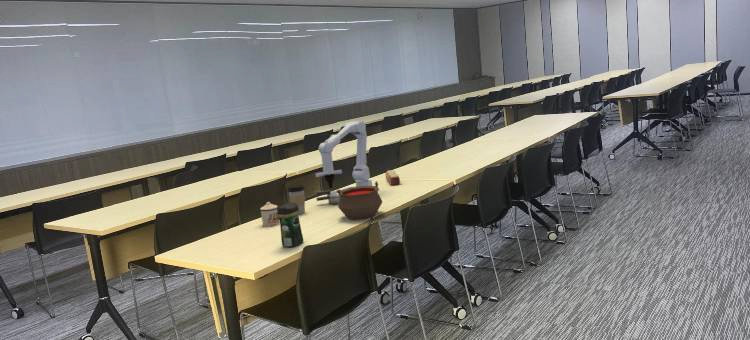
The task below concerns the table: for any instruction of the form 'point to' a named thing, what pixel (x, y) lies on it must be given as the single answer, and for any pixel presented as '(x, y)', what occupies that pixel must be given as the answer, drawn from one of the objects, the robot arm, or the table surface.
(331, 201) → the pot
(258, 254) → the table surface
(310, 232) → the table surface
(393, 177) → the snack package
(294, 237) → the coffee jar
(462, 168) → the table surface
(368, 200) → the brown cauldron
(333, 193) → the lid
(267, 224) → the teacup with lid
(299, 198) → the coffee cup
